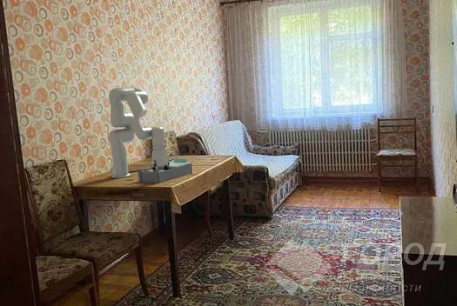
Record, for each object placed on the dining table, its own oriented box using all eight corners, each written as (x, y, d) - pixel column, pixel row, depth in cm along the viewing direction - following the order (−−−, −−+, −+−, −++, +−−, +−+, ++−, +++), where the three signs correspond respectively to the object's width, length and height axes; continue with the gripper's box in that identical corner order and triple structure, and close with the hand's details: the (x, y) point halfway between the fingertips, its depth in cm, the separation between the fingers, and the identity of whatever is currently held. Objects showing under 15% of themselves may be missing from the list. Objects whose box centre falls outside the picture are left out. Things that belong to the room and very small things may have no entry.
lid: (155, 166, 278) (155, 161, 277) (171, 162, 291) (171, 157, 291) (176, 167, 269) (175, 162, 269) (191, 163, 283) (191, 158, 282)
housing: (137, 183, 264) (136, 168, 262) (172, 173, 292) (171, 160, 291) (158, 184, 255) (157, 169, 254) (192, 174, 284) (191, 160, 282)
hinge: (174, 167, 315) (177, 154, 313) (180, 170, 314) (183, 157, 311) (161, 171, 300) (164, 158, 298) (167, 174, 299) (170, 160, 296)
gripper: (163, 145, 272) (165, 172, 274) (144, 149, 257) (147, 178, 260) (172, 145, 268) (175, 173, 270) (154, 149, 254) (156, 178, 256)
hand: (161, 175), depth 265 cm, fingers open, 9 cm apart
